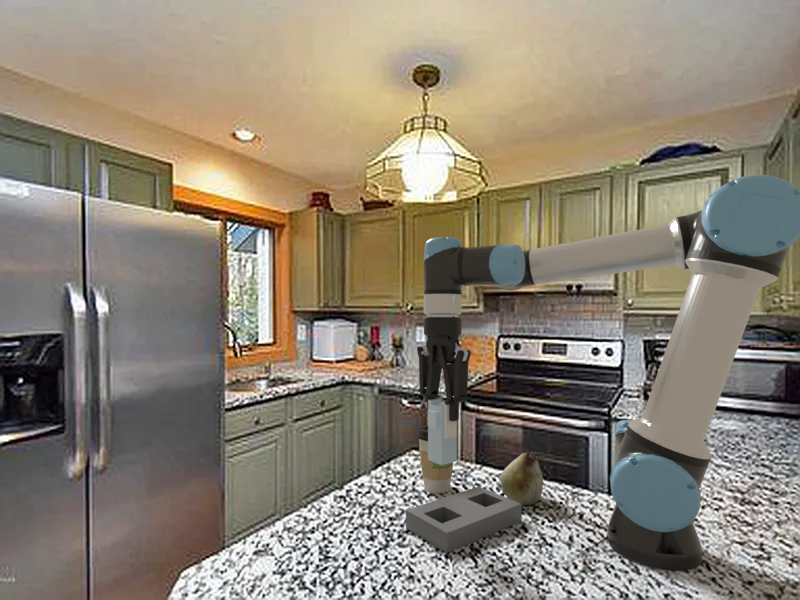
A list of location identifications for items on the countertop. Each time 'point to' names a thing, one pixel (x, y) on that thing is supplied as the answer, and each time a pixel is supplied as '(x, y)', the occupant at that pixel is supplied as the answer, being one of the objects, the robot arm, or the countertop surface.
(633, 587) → the countertop surface
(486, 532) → the socket panel
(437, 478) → the coffee cup
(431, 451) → the plug
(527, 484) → the fruit
